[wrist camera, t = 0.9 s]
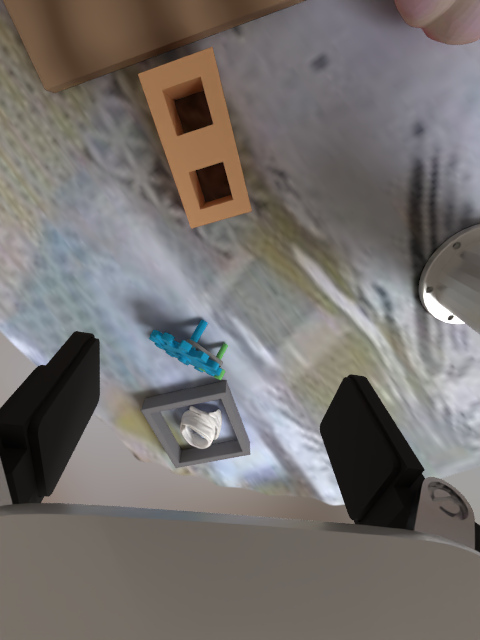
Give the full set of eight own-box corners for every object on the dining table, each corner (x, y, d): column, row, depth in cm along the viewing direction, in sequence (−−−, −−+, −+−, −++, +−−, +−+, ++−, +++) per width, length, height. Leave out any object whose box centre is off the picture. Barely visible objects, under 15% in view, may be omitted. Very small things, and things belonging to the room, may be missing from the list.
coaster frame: (226, 380, 44) (225, 392, 42) (249, 441, 50) (250, 454, 48) (145, 398, 45) (140, 410, 43) (178, 454, 52) (175, 467, 50)
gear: (135, 338, 38) (164, 341, 30) (159, 302, 40) (193, 295, 32) (198, 378, 43) (237, 390, 35) (217, 344, 46) (258, 348, 37)
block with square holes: (154, 87, 27) (137, 73, 23) (216, 65, 26) (212, 46, 22) (197, 218, 33) (191, 228, 28) (249, 203, 32) (251, 211, 27)
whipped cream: (222, 431, 51) (224, 457, 47) (183, 434, 50) (181, 461, 46) (221, 399, 46) (222, 425, 42) (178, 402, 46) (175, 429, 42)
